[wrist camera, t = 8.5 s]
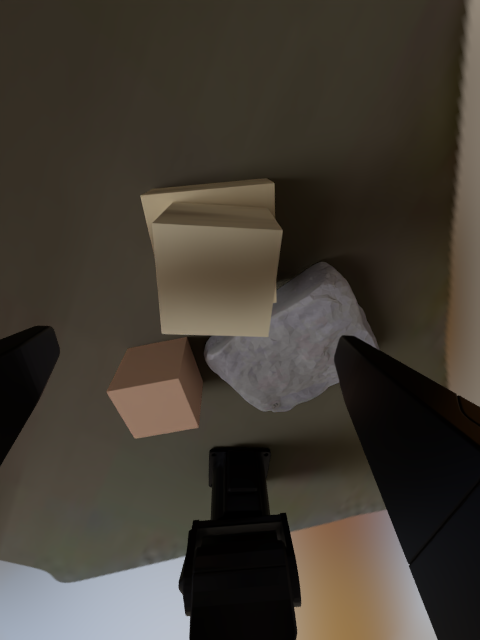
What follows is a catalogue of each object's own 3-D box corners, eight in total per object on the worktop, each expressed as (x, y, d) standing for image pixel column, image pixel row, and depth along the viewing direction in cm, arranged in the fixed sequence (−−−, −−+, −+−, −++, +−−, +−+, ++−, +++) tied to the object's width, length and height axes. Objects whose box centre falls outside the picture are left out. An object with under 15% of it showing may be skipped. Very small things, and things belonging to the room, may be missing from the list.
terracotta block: (203, 381, 26) (198, 427, 22) (149, 391, 26) (134, 438, 22) (186, 336, 23) (178, 378, 19) (128, 347, 24) (106, 391, 19)
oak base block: (269, 281, 22) (276, 302, 19) (175, 290, 22) (168, 312, 19) (266, 177, 18) (274, 183, 15) (154, 188, 18) (140, 195, 15)
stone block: (370, 322, 26) (322, 243, 20) (400, 363, 22) (351, 282, 16) (262, 383, 30) (194, 332, 24) (272, 427, 26) (196, 379, 20)
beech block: (258, 292, 18) (268, 336, 14) (177, 289, 18) (161, 333, 13) (267, 207, 16) (282, 230, 11) (173, 202, 15) (151, 223, 11)
